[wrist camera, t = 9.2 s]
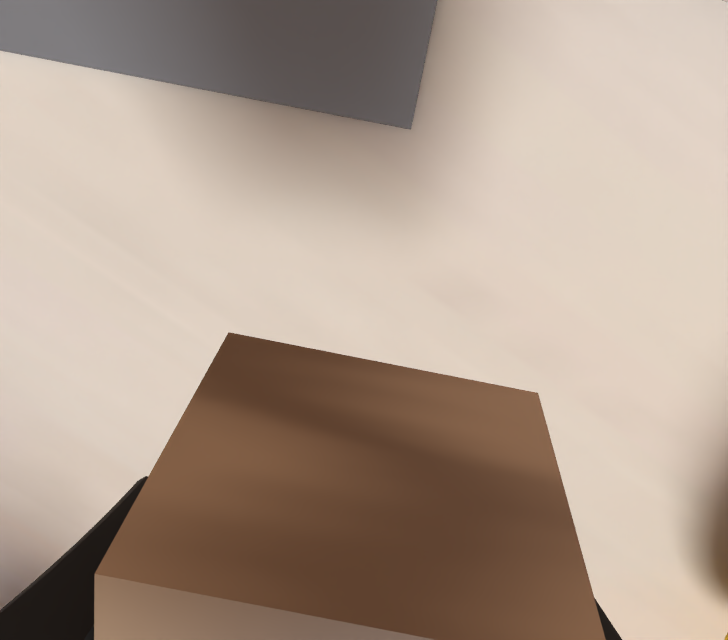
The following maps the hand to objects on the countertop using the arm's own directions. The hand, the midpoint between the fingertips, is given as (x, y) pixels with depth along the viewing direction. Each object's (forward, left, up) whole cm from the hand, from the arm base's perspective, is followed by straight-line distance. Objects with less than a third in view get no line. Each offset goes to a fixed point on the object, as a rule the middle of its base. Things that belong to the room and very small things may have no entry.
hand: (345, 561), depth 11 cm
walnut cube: (0, 0, -2) cm, 2 cm away
